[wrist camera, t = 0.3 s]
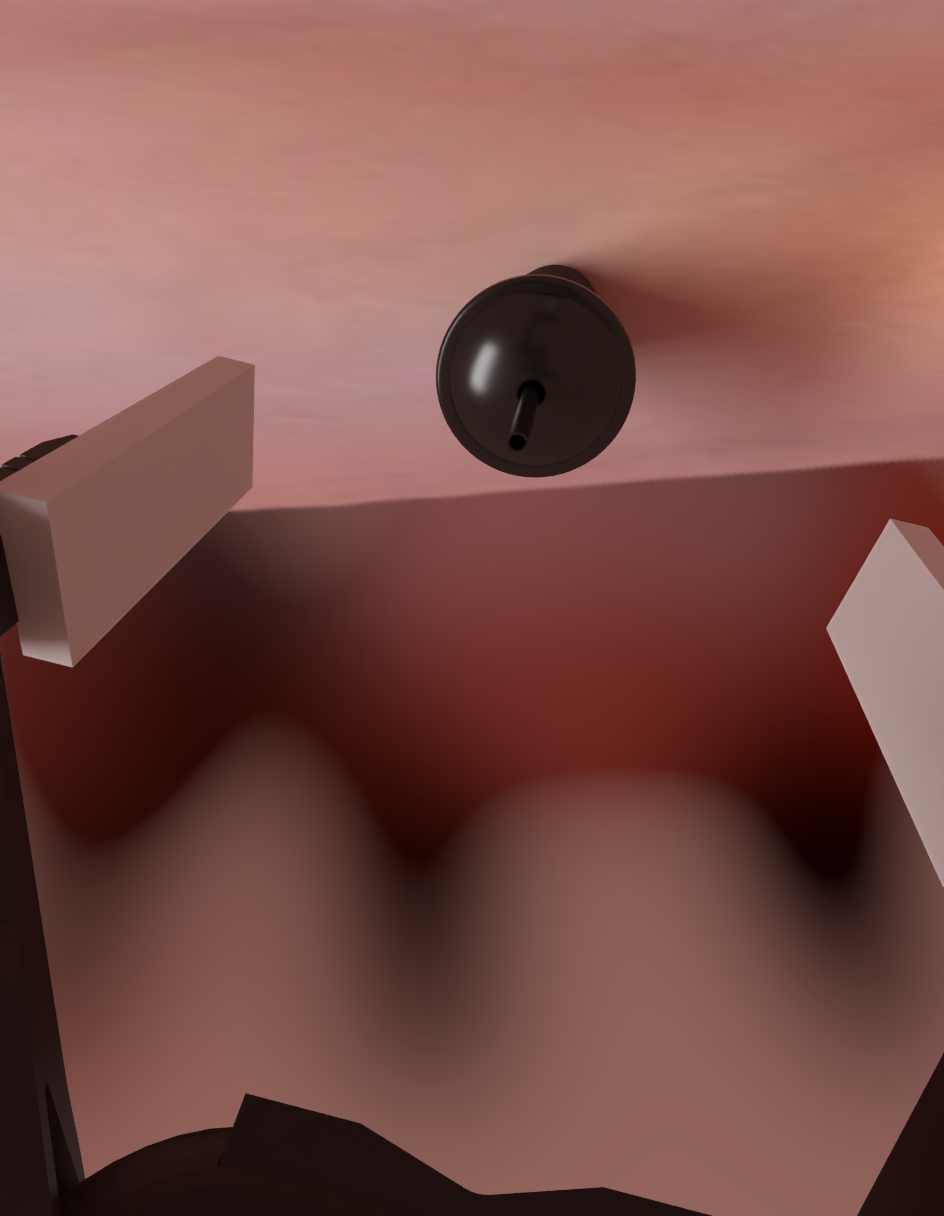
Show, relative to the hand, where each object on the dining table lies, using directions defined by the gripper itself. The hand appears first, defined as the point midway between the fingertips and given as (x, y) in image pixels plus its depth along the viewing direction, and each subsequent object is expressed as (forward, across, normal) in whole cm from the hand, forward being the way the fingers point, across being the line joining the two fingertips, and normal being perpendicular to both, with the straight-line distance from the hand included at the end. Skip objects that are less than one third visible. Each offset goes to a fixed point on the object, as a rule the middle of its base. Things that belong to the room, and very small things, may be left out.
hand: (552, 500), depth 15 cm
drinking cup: (+28, -1, -2) cm, 28 cm away
